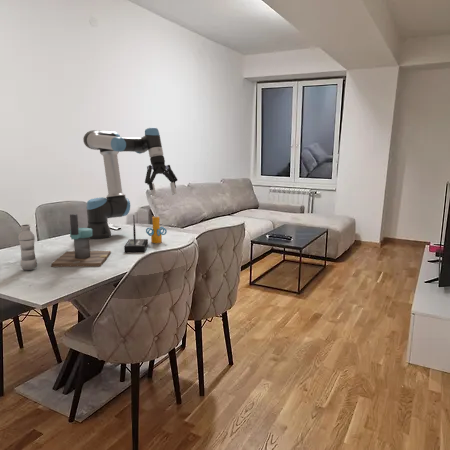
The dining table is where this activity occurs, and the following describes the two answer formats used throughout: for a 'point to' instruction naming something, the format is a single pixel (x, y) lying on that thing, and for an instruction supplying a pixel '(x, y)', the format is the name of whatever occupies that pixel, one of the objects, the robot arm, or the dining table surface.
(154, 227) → the cylinder
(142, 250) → the wireless controller
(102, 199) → the robot arm
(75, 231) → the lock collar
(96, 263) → the base
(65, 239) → the dining table surface
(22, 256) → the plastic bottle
